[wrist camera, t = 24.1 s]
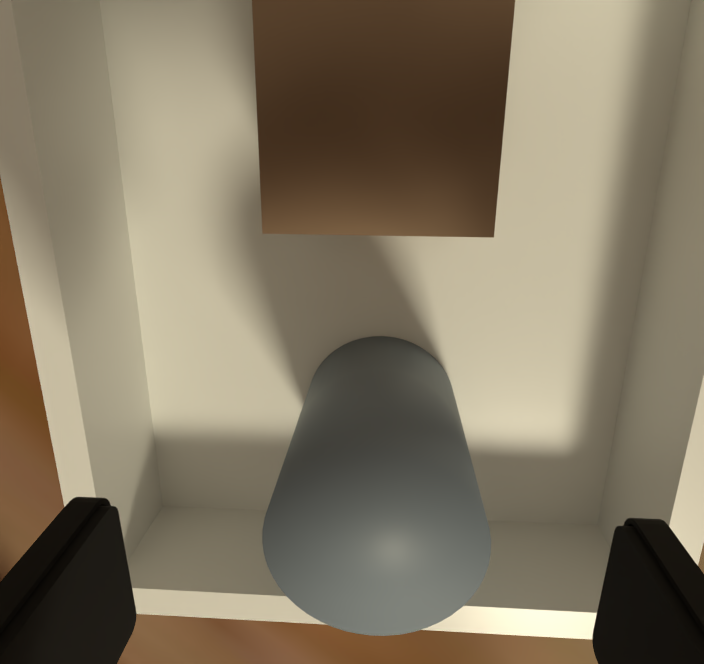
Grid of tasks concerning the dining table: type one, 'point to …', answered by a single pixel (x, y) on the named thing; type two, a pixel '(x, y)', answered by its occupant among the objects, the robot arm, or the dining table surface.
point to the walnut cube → (381, 115)
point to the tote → (360, 296)
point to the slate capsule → (378, 495)
